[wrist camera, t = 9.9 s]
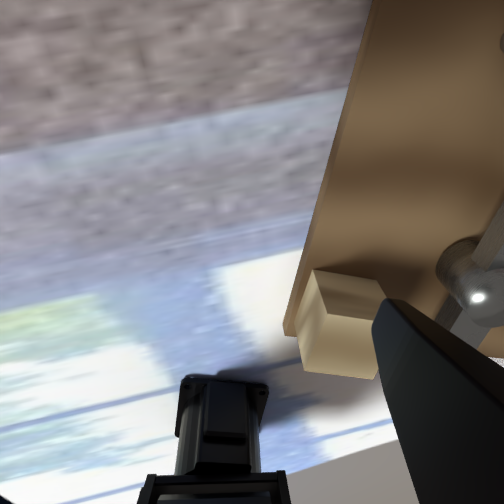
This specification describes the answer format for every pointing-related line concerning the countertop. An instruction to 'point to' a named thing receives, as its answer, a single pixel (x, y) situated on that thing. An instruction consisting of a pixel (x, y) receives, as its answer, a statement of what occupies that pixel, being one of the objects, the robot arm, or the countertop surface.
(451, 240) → the board
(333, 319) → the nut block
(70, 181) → the countertop surface
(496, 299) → the lever
